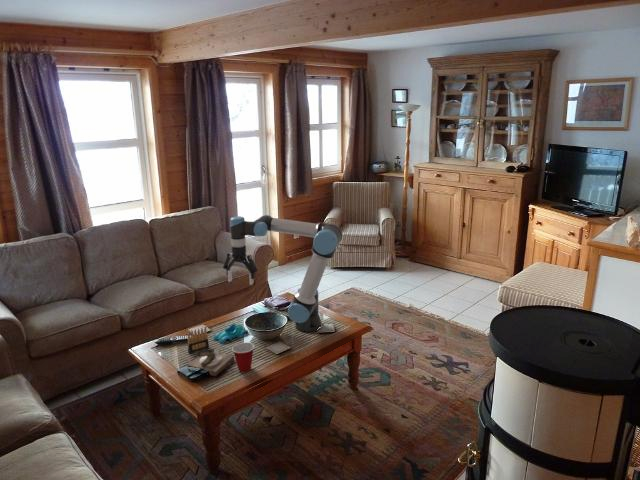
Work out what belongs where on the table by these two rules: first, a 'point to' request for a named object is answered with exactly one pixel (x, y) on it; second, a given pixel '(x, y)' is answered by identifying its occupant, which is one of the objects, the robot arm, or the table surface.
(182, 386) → the table surface
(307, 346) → the table surface
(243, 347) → the plastic cup
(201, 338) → the ammunition clip
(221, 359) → the plinth
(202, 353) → the eagle figurine
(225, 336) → the toy car
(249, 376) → the table surface
